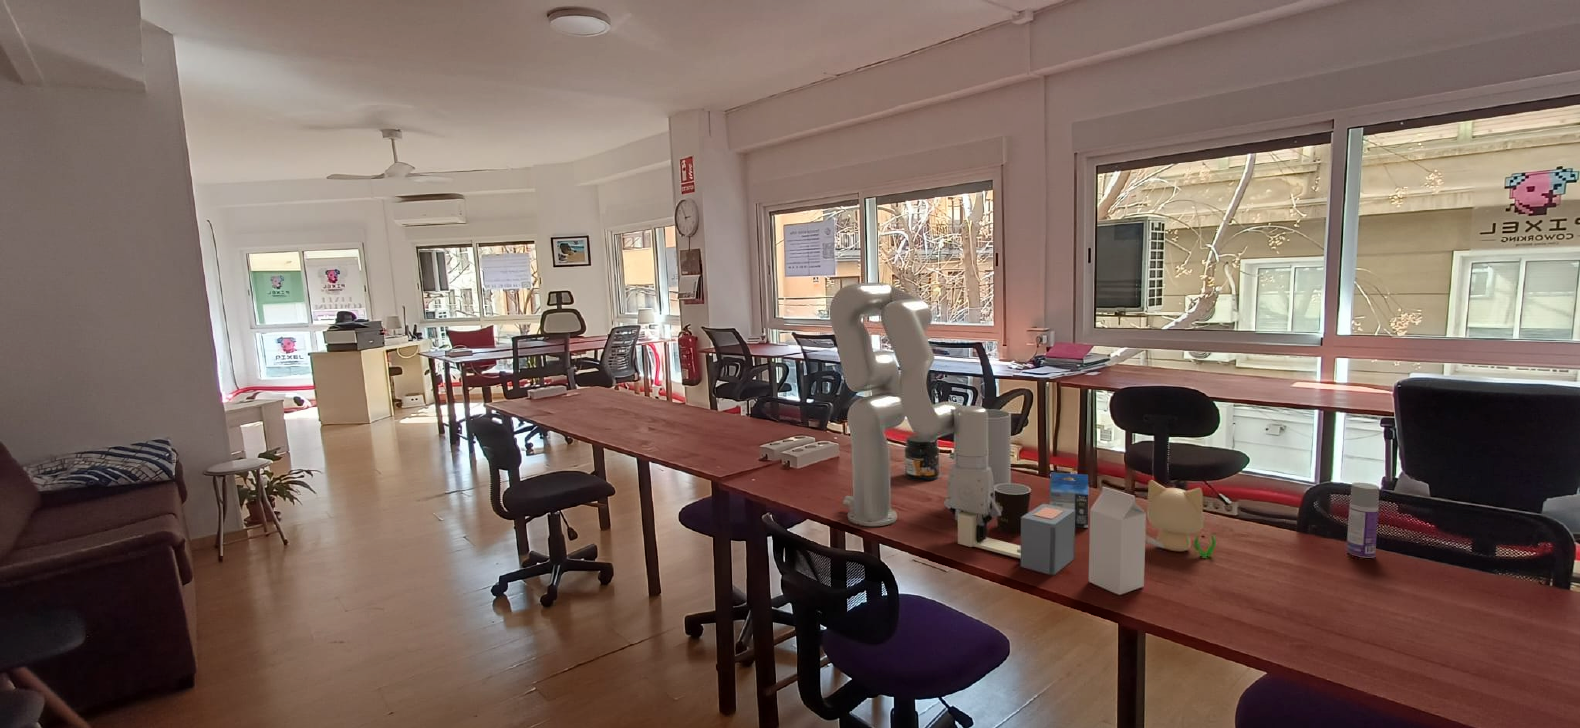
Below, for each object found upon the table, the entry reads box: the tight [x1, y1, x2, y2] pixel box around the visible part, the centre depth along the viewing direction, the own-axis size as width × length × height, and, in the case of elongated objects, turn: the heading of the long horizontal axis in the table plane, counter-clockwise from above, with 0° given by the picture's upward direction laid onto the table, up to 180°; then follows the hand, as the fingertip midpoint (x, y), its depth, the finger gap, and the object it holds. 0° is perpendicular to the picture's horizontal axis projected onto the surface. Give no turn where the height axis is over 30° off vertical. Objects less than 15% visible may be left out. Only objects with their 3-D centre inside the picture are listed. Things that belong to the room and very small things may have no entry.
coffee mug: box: [994, 482, 1032, 535], centre depth 169 cm, size 12×9×10 cm
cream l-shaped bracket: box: [957, 511, 1021, 560], centre depth 155 cm, size 17×6×7 cm, turn 47°
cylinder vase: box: [985, 408, 1012, 514], centre depth 184 cm, size 12×12×25 cm
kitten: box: [1145, 479, 1217, 559], centre depth 152 cm, size 15×10×15 cm, turn 47°
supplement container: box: [904, 434, 940, 481], centre depth 213 cm, size 10×10×12 cm
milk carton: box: [1088, 486, 1147, 596], centre depth 136 cm, size 7×7×19 cm
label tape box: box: [1048, 472, 1090, 529], centre depth 169 cm, size 9×4×12 cm, turn 68°
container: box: [1346, 482, 1380, 559], centre depth 146 cm, size 5×5×15 cm
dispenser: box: [1017, 503, 1076, 577], centre depth 148 cm, size 8×11×11 cm
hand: (971, 537), depth 160 cm, fingers closed on cream l-shaped bracket, 4 cm apart
